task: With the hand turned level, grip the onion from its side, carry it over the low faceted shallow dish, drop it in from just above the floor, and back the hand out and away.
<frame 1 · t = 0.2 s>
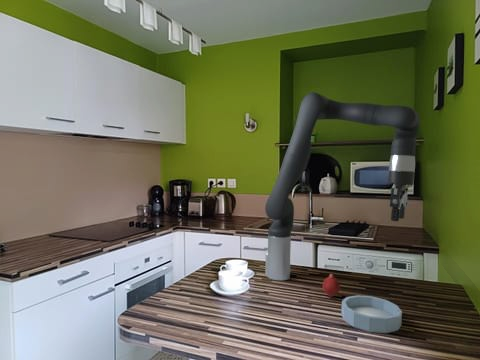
hand: (397, 219, 106), 28 cm above the kitchen island, tool pointing down, fingers open, 8 cm apart
faceted shallow dish: (370, 319, 97), on the kitchen island
onion: (330, 297, 114), on the kitchen island
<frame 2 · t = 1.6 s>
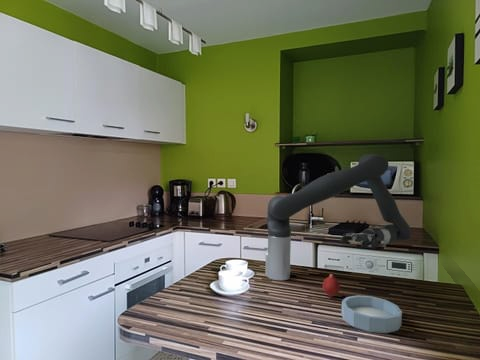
hand: (351, 241, 120), 18 cm above the kitchen island, tool horizontal, fingers open, 8 cm apart
nothing on the kitchen island moved.
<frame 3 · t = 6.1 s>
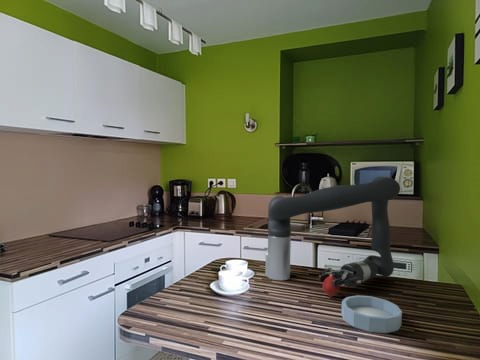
hand: (326, 281, 112), 6 cm above the kitchen island, tool horizontal, fingers closed on onion, 5 cm apart
onion: (330, 297, 114), on the kitchen island, touching gripper
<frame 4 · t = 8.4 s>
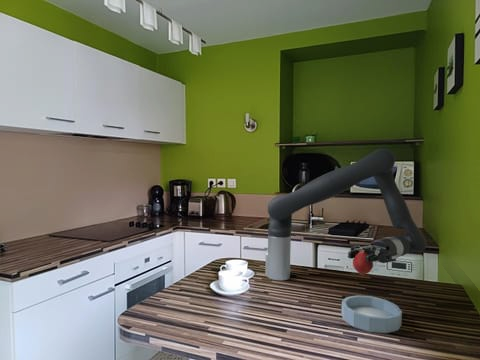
hand: (358, 257, 100), 18 cm above the kitchen island, tool horizontal, fingers closed on onion, 5 cm apart
onion: (362, 275, 101), point 12 cm above the kitchen island, touching gripper
when the fingers open (9 cm above the kitchen island, at t = 10.9 s): onion drops 2 cm, resting on faceted shallow dish.
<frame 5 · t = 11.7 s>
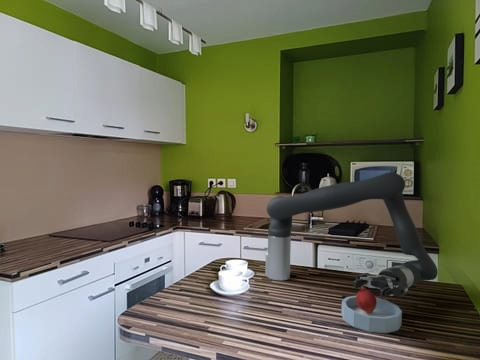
hand: (367, 288, 96), 10 cm above the kitchen island, tool horizontal, fingers open, 8 cm apart
onion: (370, 314, 97), point 1 cm above the kitchen island, touching gripper, faceted shallow dish
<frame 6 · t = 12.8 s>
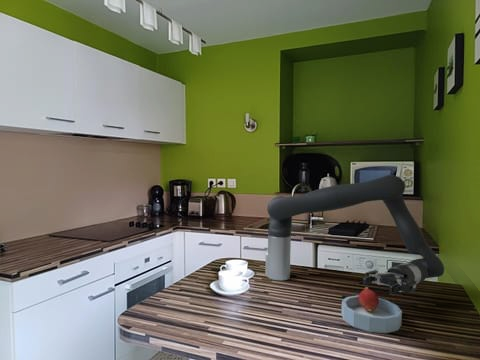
hand: (377, 285, 99), 10 cm above the kitchen island, tool horizontal, fingers open, 8 cm apart
onion: (370, 311, 98), point 2 cm above the kitchen island, touching faceted shallow dish
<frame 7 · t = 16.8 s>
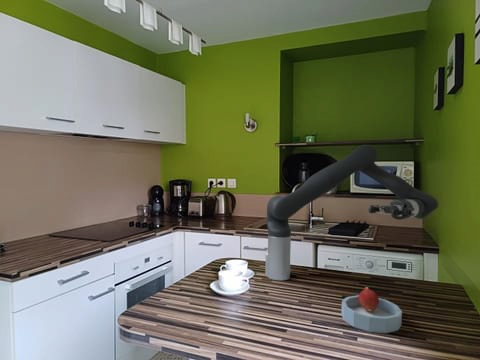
hand: (380, 211, 115), 30 cm above the kitchen island, tool horizontal, fingers open, 8 cm apart
nothing on the kitchen island moved.
at the end: onion inside the target area on the faceted shallow dish (0.5 cm from its centre), point 2.0 cm above the faceted shallow dish's base; the gripper is holding nothing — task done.
